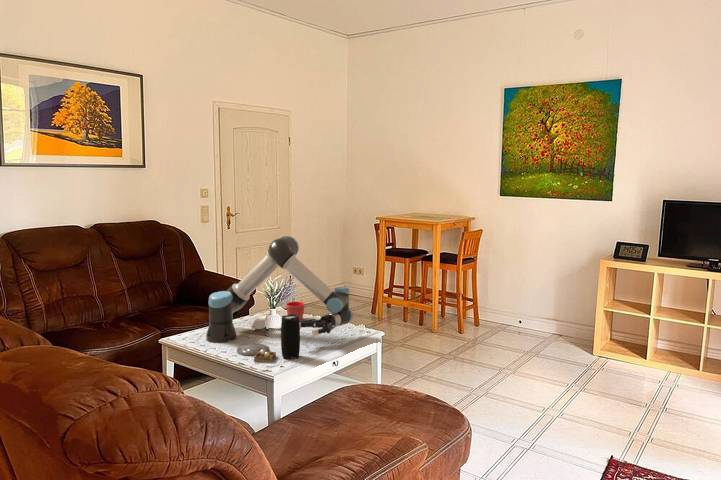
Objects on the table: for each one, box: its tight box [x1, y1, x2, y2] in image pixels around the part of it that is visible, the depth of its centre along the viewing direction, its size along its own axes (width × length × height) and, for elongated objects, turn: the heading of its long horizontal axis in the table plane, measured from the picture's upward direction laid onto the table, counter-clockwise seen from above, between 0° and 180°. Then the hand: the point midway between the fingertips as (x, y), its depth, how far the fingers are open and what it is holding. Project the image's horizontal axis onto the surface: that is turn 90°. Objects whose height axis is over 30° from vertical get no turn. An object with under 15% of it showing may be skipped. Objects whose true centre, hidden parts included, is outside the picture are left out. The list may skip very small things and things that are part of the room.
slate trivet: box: [236, 343, 270, 357], centre depth 264 cm, size 15×15×1 cm
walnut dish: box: [253, 351, 277, 363], centre depth 252 cm, size 8×8×2 cm
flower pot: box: [285, 301, 306, 321], centre depth 320 cm, size 11×11×10 cm
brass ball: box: [264, 351, 271, 357], centre depth 250 cm, size 3×3×3 cm
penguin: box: [250, 315, 266, 331], centre depth 302 cm, size 9×8×15 cm
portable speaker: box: [280, 314, 301, 361], centre depth 254 cm, size 9×9×20 cm
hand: (301, 330), depth 260 cm, fingers open, 13 cm apart
